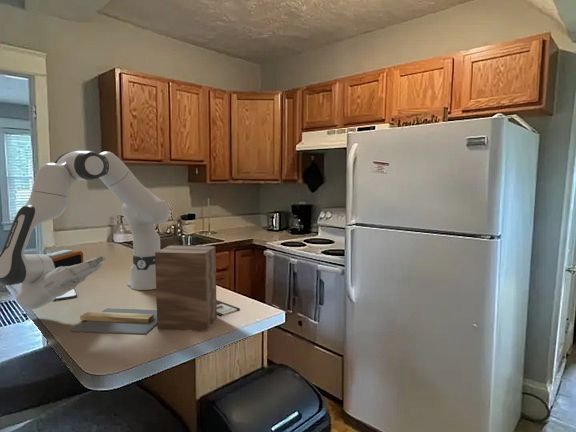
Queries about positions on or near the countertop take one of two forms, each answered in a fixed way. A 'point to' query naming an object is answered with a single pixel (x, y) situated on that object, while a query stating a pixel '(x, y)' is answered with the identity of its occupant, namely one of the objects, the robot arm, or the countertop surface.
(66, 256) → the alarm clock
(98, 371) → the countertop surface
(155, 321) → the rubber mat
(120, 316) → the ochre block
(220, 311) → the chocolate bar
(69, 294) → the phone case
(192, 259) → the walnut shelf
